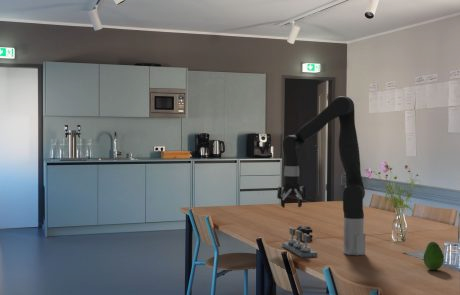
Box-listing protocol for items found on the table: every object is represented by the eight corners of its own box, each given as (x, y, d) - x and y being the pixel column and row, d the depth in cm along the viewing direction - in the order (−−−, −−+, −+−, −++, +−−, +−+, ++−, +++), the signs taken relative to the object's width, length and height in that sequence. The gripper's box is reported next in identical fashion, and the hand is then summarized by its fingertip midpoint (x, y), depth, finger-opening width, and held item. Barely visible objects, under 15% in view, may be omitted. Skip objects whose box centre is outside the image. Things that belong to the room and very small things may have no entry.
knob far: (298, 244, 275) (298, 229, 275) (290, 244, 274) (290, 229, 274) (294, 241, 281) (294, 227, 280) (286, 242, 280) (286, 227, 279)
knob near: (312, 251, 257) (313, 235, 257) (304, 252, 256) (304, 236, 256) (307, 248, 263) (308, 233, 263) (299, 249, 262) (299, 233, 262)
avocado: (423, 271, 231) (423, 242, 230) (423, 267, 238) (424, 239, 238) (443, 273, 228) (444, 244, 227) (443, 268, 235) (444, 240, 235)
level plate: (317, 256, 257) (317, 251, 257) (301, 257, 255) (301, 252, 255) (297, 245, 282) (297, 240, 282) (282, 246, 280) (282, 241, 280)
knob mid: (305, 247, 266) (305, 232, 266) (297, 248, 265) (297, 232, 265) (301, 245, 272) (301, 230, 272) (292, 245, 271) (292, 230, 271)
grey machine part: (296, 237, 305) (296, 225, 305) (309, 237, 305) (309, 225, 305) (299, 241, 295) (299, 228, 295) (312, 241, 295) (312, 228, 295)
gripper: (280, 175, 273) (280, 208, 273) (307, 175, 276) (307, 207, 277) (275, 174, 280) (275, 206, 281) (302, 174, 284) (301, 205, 284)
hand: (291, 207), depth 279 cm, fingers open, 8 cm apart
